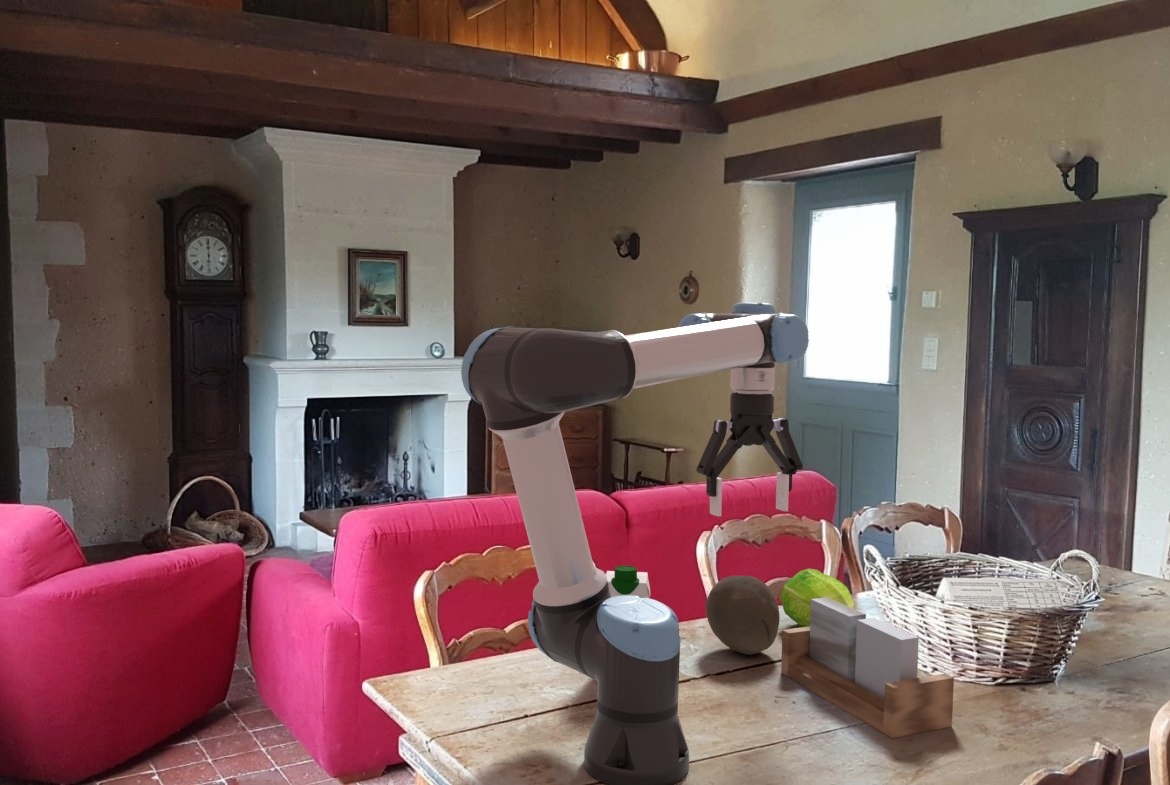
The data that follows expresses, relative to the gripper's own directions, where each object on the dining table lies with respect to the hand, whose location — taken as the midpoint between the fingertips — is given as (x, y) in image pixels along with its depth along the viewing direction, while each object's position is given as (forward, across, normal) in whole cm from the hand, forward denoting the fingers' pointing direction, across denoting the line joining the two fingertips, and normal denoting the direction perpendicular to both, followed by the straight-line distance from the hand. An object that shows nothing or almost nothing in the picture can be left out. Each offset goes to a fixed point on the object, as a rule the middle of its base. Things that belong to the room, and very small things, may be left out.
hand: (749, 512), depth 171 cm
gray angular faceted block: (+29, +15, -19) cm, 38 cm away
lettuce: (+31, +30, +18) cm, 47 cm away
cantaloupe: (+31, +8, +14) cm, 35 cm away
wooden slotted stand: (+31, +15, -13) cm, 37 cm away
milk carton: (+31, -18, +12) cm, 38 cm away
